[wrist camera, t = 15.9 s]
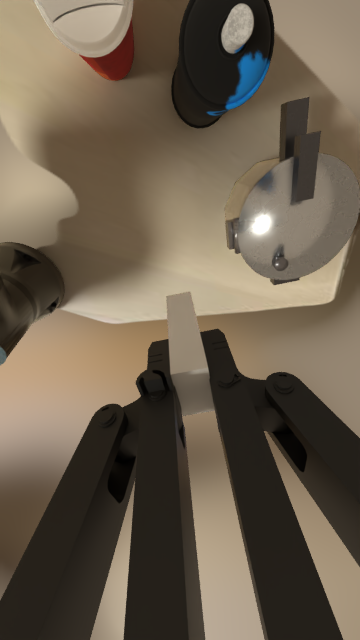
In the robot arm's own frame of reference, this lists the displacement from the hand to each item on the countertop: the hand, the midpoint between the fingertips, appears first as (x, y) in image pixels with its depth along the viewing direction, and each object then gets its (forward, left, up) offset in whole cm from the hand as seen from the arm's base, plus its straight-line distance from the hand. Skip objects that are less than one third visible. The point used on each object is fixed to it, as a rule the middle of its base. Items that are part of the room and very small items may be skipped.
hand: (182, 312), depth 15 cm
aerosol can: (+8, +15, -33) cm, 37 cm away
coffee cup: (-3, +21, -33) cm, 39 cm away
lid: (+18, -2, -23) cm, 29 cm away
